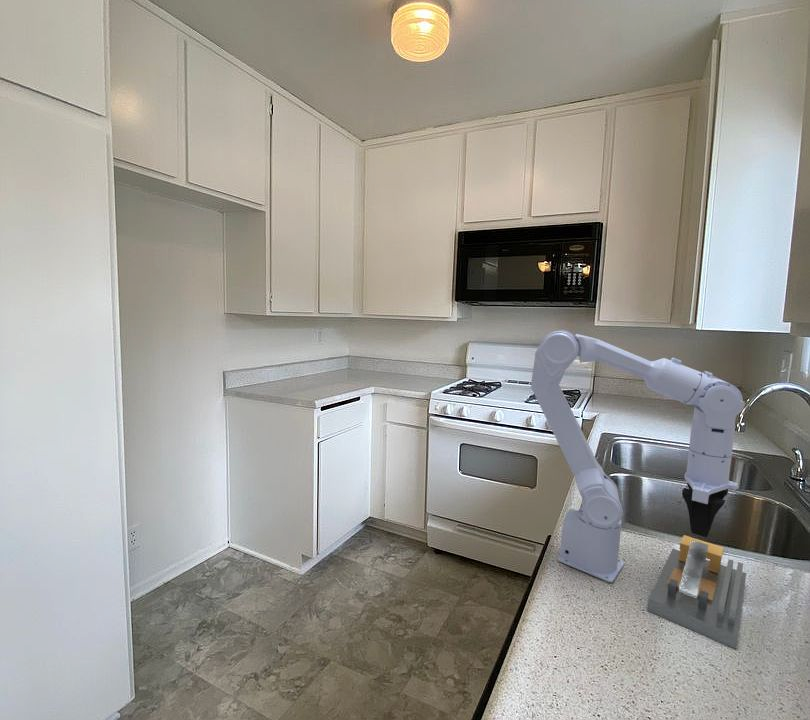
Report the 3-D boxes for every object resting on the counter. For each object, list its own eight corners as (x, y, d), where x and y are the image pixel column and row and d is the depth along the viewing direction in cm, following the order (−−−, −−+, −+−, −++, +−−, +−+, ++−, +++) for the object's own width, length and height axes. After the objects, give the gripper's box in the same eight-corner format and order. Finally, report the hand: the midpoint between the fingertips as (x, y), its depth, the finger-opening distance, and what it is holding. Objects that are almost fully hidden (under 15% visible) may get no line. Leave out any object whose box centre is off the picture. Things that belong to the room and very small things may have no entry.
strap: (678, 591, 67) (678, 588, 66) (691, 542, 74) (691, 539, 74) (696, 599, 65) (697, 595, 65) (708, 548, 72) (708, 545, 72)
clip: (678, 559, 77) (680, 543, 76) (682, 551, 80) (683, 535, 79) (719, 574, 73) (721, 556, 72) (721, 564, 76) (723, 547, 75)
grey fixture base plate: (647, 610, 66) (650, 584, 66) (671, 558, 81) (674, 536, 80) (736, 649, 59) (740, 619, 58) (744, 584, 74) (748, 560, 73)
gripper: (737, 469, 61) (726, 557, 63) (743, 447, 72) (734, 523, 74) (680, 457, 66) (671, 539, 67) (694, 438, 77) (686, 510, 78)
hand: (700, 530), depth 71 cm, fingers open, 3 cm apart
